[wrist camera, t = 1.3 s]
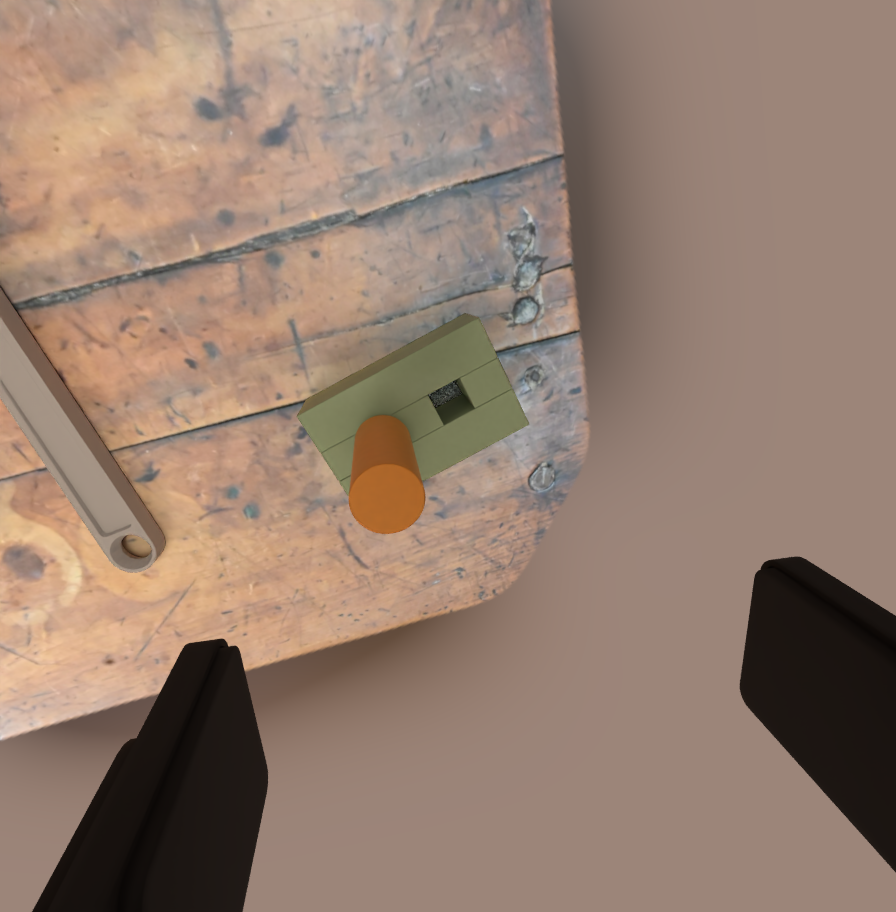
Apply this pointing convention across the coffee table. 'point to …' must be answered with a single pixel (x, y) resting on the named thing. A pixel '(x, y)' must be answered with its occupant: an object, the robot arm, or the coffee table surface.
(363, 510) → the orange handle
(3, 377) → the adjustable wrench
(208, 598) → the coffee table surface
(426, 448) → the holder
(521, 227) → the coffee table surface
